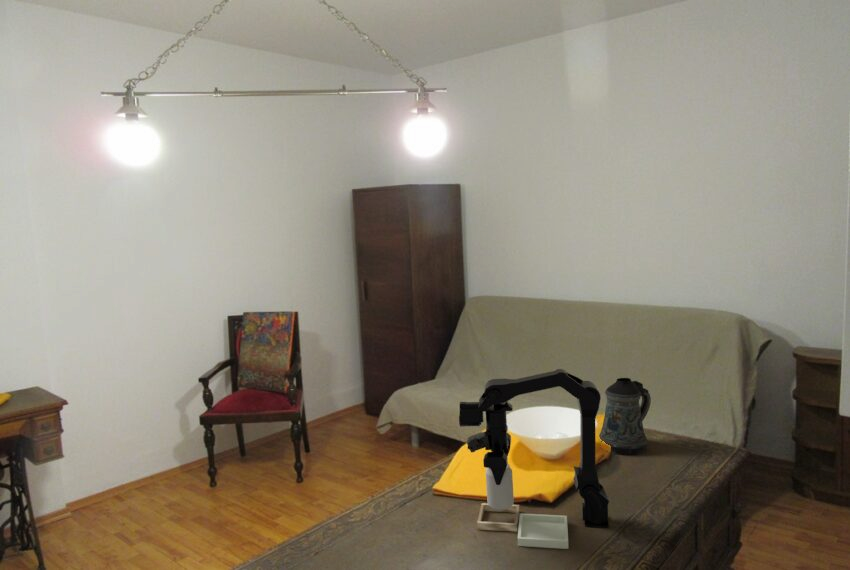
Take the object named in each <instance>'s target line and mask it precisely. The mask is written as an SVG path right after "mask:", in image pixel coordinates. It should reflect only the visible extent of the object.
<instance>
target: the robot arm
mask: <svg viewBox="0 0 850 570" xmlns="http://www.w3.org/2000/svg"><path fill="white" fill-rule="evenodd" d="M559 387H560V388H561V389H564V390H565V391H566V392H567V393H569V394H570V395H571V396H572V397H575V398H576V400H577V404H578V409H579V414H580V417H579V418H580V422H579V423H580V427H579V429H580V462H579V465H578V466H573V469H574V477H573V483H574V485H575V488H576V490H577V491H578V493H579V495H580V497H581V498H582V499H583V502H582V503H581V517H582V521H583V522H584V527H591V528H593V527H594V528H610V522H609V503H610V501H609V498H608V495H607V493H606V490H605V487H604V486H603V485H602V484H601V483H600V481H599V477H598V472H597V471H598V470H597V469H596V417H597V416H598V415H597V414H598V413H599V409H600V404H601V393H600V391H599V389H598V388H597V386H596V384H595V383H594V382H592V381H590V380H583V379H582V378H579V376H576V375H573V374H572V373H569V372H567V371H566V369H564V368H558V369H555V370H552V371H547V372H543V373H539V374H534V375H530V376H529V375H528V376H523V377H519V378H514V379H512V378H492V379H489V380H487V382H486V383H485V385H484V389H483V390H484V391H483V393H482V394H481V395H480V397H479V399H478V401H469V402H468V401H459V416H458V421H459V427H463V428H464V427H465V428H466V427H481V425H482V423H484V419H485V426H486V428H485V431H483V432H482V431H481V432H479V433H476V434H472V435H470V436H468V437H467V439H466V445H467V449H468V450H469V451H470V453H475V452H477V451H479V450H482V449H485V451H487V452H486V453H485V454H484V456H483V467H484V468H486V469H487V468H490V469H491V471H492V473H493V476H494V479H495V483H496V485H500V484H501V481H502V478H503V475H504V473H505V470H506V467H507V464H509V462H508V456H509V453H510V450H511V445H512V436H511V434H510V433H509V432H508V429H509V427H508V423H507V419H508V418H507V412H512V411H513V409H514V408H513V404H511V402H509V401H510V400H512V399H513V398H515V397H518V396H520V395H525V394H531V393H535V392H539V391H544V390H548V389H553V388H554V389H555V388H559ZM484 412H485V418H484Z"/></svg>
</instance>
